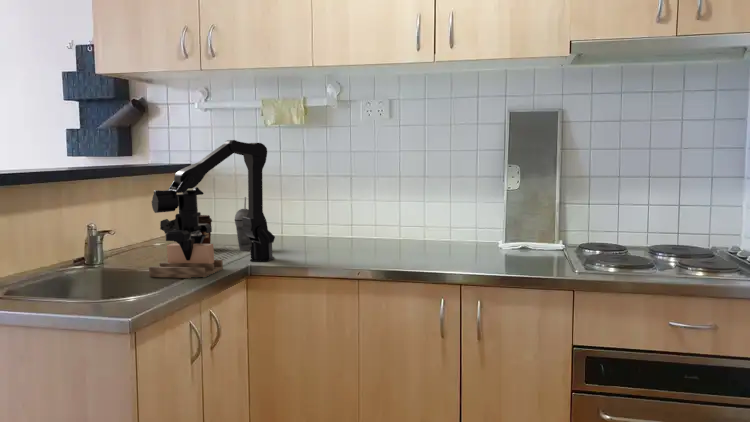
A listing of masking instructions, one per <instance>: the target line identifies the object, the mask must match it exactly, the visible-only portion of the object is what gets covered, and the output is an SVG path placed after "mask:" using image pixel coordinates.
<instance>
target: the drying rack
mask: <svg viewBox="0 0 750 422" xmlns="http://www.w3.org/2000/svg"><path fill="white" fill-rule="evenodd" d="M223 269H224V265H223V259H214V263H212V264H202V263H168V262H160V263H159V266H149V267H148V273H149V278H180V279H181V278H184V279H189V278H190V279H192V278H191V277H205V278H207V277H206V276H208V275H210V274H212V275H214V274H216V273H218V272H220V271H222V270H223ZM219 270H220V271H219ZM217 271H218V272H217ZM215 272H216V273H215ZM213 273H214V274H213ZM210 276H211V275H210ZM208 277H209V276H208Z"/></svg>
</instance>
